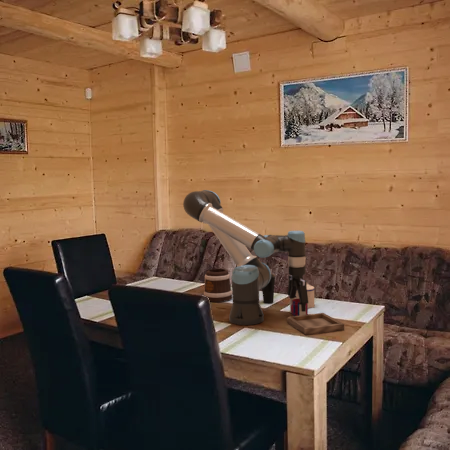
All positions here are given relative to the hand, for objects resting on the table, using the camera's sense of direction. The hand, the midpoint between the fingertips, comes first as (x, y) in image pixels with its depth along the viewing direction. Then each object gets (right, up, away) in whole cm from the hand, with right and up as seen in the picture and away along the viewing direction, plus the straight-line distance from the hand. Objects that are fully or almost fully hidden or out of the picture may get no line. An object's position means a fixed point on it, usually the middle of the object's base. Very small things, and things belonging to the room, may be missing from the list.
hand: (297, 315), depth 223 cm
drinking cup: (-11, +2, +25) cm, 27 cm away
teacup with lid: (+5, +1, +17) cm, 18 cm away
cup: (0, 0, 0) cm, 0 cm away
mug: (-37, +2, +37) cm, 53 cm away
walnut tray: (+5, -2, -16) cm, 17 cm away
